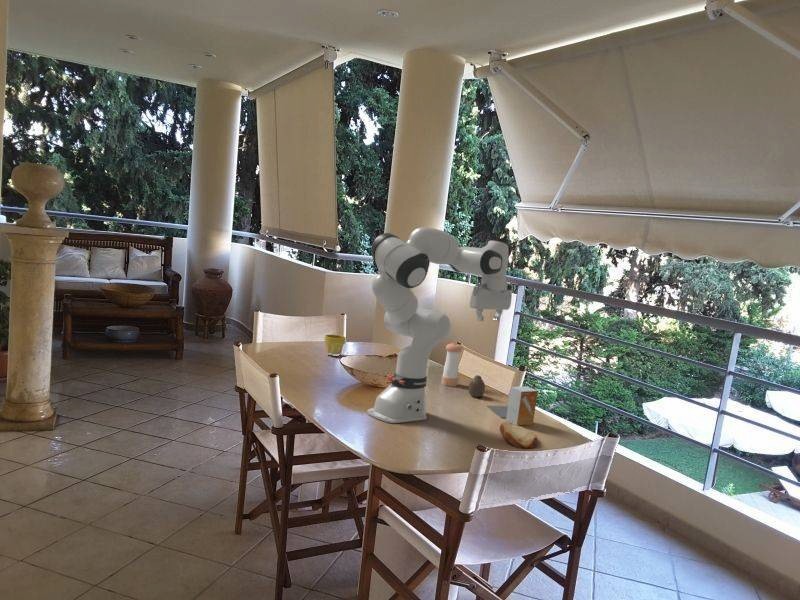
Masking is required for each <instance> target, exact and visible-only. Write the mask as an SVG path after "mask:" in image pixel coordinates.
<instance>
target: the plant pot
mask: <svg viewBox="0 0 800 600" xmlns="http://www.w3.org/2000/svg"><path fill="white" fill-rule="evenodd" d="M346 339H347V337H346V336H344V335H340V334H334V333H333V334H325V335H324V344H325V350H326V354H327V353H331V354H340V353H341V354H342V351H343V349H344V345H345V344H346ZM341 354H340V355H341Z"/></svg>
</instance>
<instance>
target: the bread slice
mask: <svg viewBox="0 0 800 600" xmlns="http://www.w3.org/2000/svg"><path fill="white" fill-rule="evenodd" d="M499 431H500V434H501V436H502V437H503V439H504V440H505V441H507V443H509V444H511V446H513V447H515V448H516V449H517V448H518V449H521V450H532V449H534V448H535V447H536V446H538V442H539V441H538V437H537V435H536V434H535V433H534V432H533V431H531V430H529V429H528V428H525V427H523V426H522V425H515V424H512V423H510V422H508V421H501V423H500V425H499Z"/></svg>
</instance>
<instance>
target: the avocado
mask: <svg viewBox="0 0 800 600" xmlns="http://www.w3.org/2000/svg"><path fill="white" fill-rule="evenodd" d="M485 391H486V384H485V382H484V380H483V378H482V375H475V376H474V377H473V378H472V379H471V380H470V382H469V385H468V394H469V395H470V396H471V397H472V396H474V397H473V398H476V397H479V398H481V397H482V396H483V395H484V393H485Z"/></svg>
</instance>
